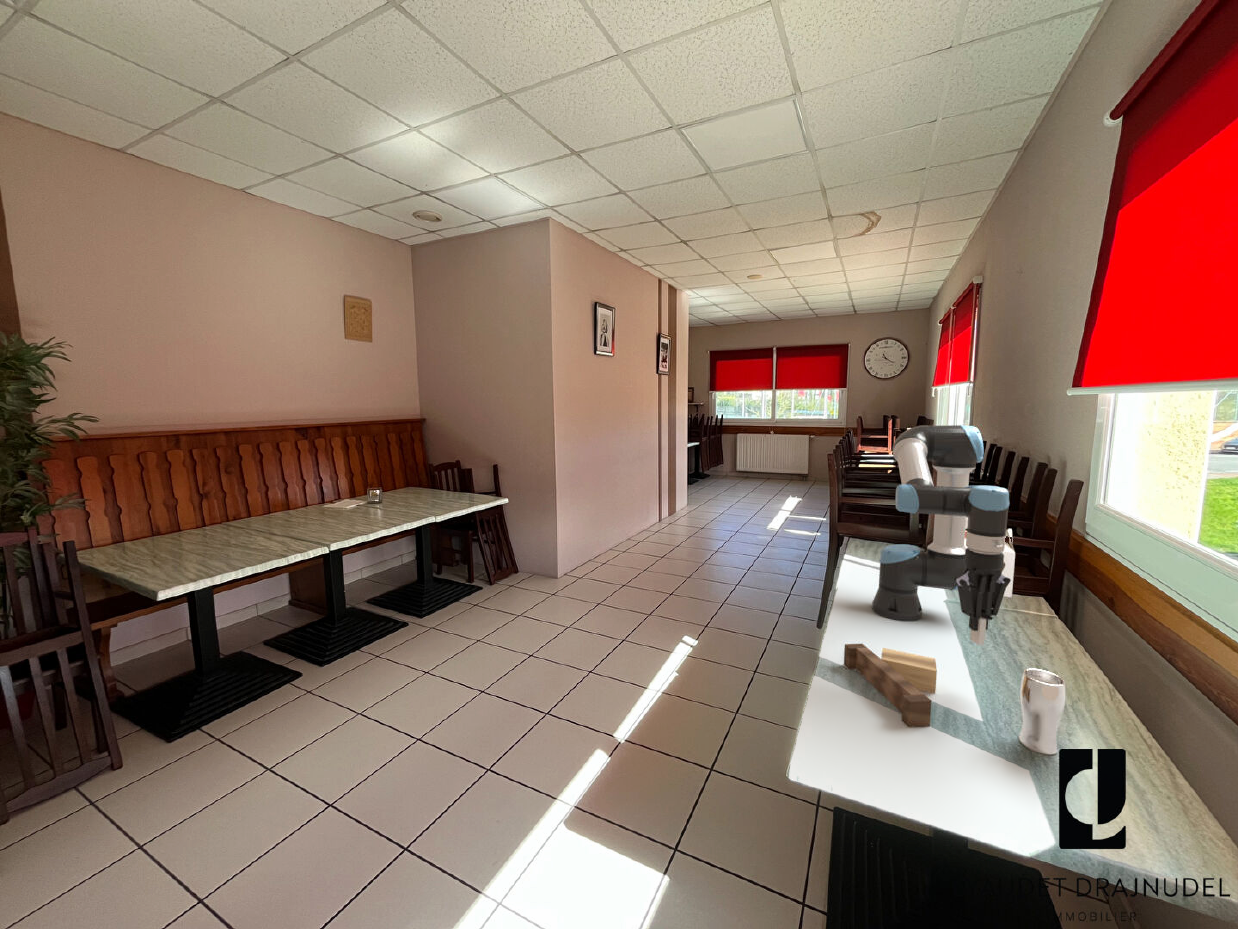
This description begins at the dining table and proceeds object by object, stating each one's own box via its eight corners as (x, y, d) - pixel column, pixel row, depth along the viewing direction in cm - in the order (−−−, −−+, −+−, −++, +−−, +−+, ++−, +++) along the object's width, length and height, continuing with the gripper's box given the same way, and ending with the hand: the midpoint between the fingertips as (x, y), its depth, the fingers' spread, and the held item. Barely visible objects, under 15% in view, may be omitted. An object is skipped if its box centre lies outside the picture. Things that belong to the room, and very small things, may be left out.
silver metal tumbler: (1064, 761, 97) (1070, 689, 95) (1019, 748, 100) (1024, 679, 99) (1056, 741, 102) (1062, 673, 101) (1013, 730, 106) (1019, 664, 105)
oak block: (881, 668, 132) (882, 647, 132) (933, 680, 126) (935, 658, 126) (880, 681, 126) (881, 659, 126) (935, 694, 120) (936, 671, 120)
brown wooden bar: (843, 665, 134) (844, 644, 133) (861, 664, 134) (862, 643, 134) (908, 727, 107) (909, 701, 107) (929, 726, 108) (931, 700, 107)
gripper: (971, 556, 113) (963, 651, 117) (1023, 553, 114) (1015, 648, 117) (947, 546, 121) (941, 636, 124) (997, 544, 122) (989, 633, 125)
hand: (977, 641), depth 121 cm, fingers closed
